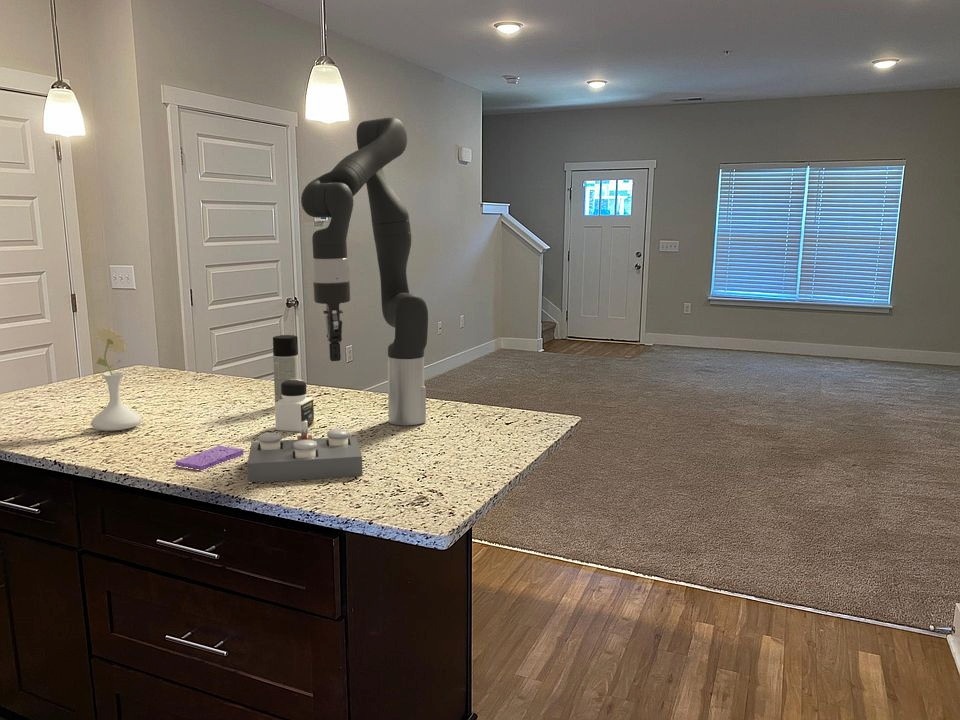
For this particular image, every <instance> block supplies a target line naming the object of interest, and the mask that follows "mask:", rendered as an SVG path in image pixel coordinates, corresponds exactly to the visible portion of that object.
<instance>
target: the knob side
mask: <svg viewBox="0 0 960 720" xmlns="http://www.w3.org/2000/svg"><path fill="white" fill-rule="evenodd" d="M316 447H317V442H316V441H314V440H300V441H296V442H294V443H293V448H294V449H295V458H310V457H316V451H315V448H316Z"/></svg>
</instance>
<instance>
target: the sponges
mask: <svg viewBox="0 0 960 720" xmlns="http://www.w3.org/2000/svg"><path fill="white" fill-rule="evenodd" d="M241 455H242V456H244V448H238V447H231V446H225V445H216V446H214V447H211V448H209V449H207V450H203V451H200V452H198V453H194V454H192V455H189V456H185V457H183V458H180V459H177V460H176V461H175V466H177V467H178V466H182V467H188V468H193V469H199V470H203V469H206V468H208V467H211V466H214V465H216V464H219V463H221V464H223V463H222V462H224V463H226V462H225V461H227V460H229V461H231V460H230V459H232V460H234V459H237V458H239V457H238V456H240V457H242V456H241ZM236 457H237V458H236ZM233 458H234V459H233ZM227 462H228V461H227ZM219 465H220V464H219ZM216 466H217V465H216ZM214 467H215V466H214ZM211 468H212V467H211ZM208 469H209V468H208ZM206 470H207V469H206ZM203 471H204V470H203Z"/></svg>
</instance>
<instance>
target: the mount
mask: <svg viewBox="0 0 960 720" xmlns="http://www.w3.org/2000/svg"><path fill="white" fill-rule="evenodd" d="M312 440H314V441H316V442H317V447H316V448H315V451H316V457H310V458H295V449H294V448H293V443H294V442H296V441H297V439H287V440H286V439H283V440H282V439H281V440H280V448H281V449H275V450H261V446H260V441H252V442H251V443H250V449H249V454H248V459H247V464H246V465H247V483H248V482H263V483H273V482H272V481H277V482H288V481H287V480H291V481H300V480H301V481H302V480H303V479H305V480H316V478H319V479H333V478H334V479H335V478H344V477H345V478H347V477H360V476H363V455H362V451H361V448H360V446H359V442H358V438H357V436H356V435H354V436H353V435H352V436H350V435H349V436H348V445H342V446H329V437H319V438H318V437H317V438H312ZM270 481H271V482H270Z"/></svg>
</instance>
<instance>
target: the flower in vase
mask: <svg viewBox="0 0 960 720" xmlns="http://www.w3.org/2000/svg"><path fill="white" fill-rule="evenodd" d="M95 333H96V335H97V339H98V340H99V341H100V342H101V344H102V345H104V348H105V350H104V355H103V358H101V357H98V360H97V362H96V364H98V365H101V366H104V367H107V369H108V371H107V372H103V373H102V374H101V376H102V377H103V379H104V380H105V381H106V384H107V387H108V391H109V402H108V404H107V405H106V407H104V408H103V409H102V410H100V412H99V413H97V415H95V416H94V417H93V418H92V420H91V422H90V426H91V427H92V428H93V429H96V430H100V431H103V432H104V431H107V432H108V431H109V432H113V431H114V432H115V431H122V430H128V429H131V428H134V427H136V426H138V425H140V424H141V422H142V421H143V418H142V416H141V415H140V414H139V413H138V412H136V411H135V410H133V409H132V408H130V407H128V406H127V405H125V404H124V403H123V402H122V400H121V394H120V393H121V392H120V386H121V380H122V379H123V376H124V375H125V372H123V371H112V370H111V368H112V367H113V366H115V365H117V364H119V363H120V362H121V359H119V360H118V361H117V362H114V363H113V364H112V365H110V366H109V364H108V362H107V360H106V359H107V358H106V357H107V352H108V350H109V351H113V352H114V353H118V354H121V353H124V352H126V351H127V349H126V346H127V344H126V343H125V339H123V338H122V337H123V336H122V334H120V333H118V332H117V331H115V330H113V328H111V327H109V328H107V327H106V326H101V328H98V329H97V330H96V331H95Z"/></svg>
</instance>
